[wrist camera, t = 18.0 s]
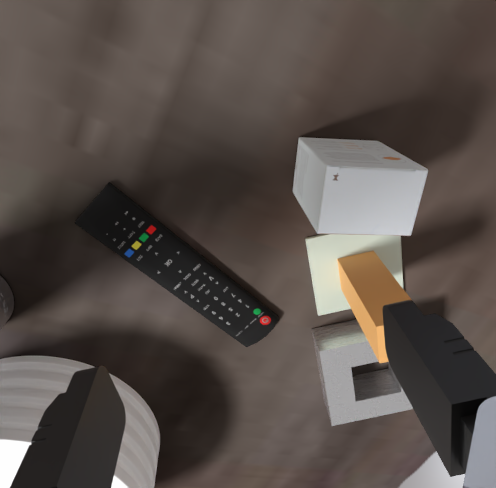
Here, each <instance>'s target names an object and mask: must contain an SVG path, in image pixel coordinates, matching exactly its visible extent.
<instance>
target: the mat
mask: <svg viewBox="0 0 496 488" xmlns="http://www.w3.org/2000/svg"><path fill="white" fill-rule="evenodd" d="M305 240H306V246H307V252H308V258H309V264H310V270H311V276H312V283H313V289H314V295H315V301H316V307H317V313H318V316H319V315H324V314H329V313H333V312H338V311H342V310H347V309H351V307H350V305H349V303H348V301H347V300H346V298H345V296H344V294H343V292H342V290H341V284H340V276H339V269H338V261H337V259H338V258H343V257H347V256H352V255H356V254H361V253H365V252H370V251H374V252H375V253H376V254H377V256H378V257H379V258H380V260H381V261H382V262H383V264H384V265H385V266H386V267H387V269H388V270H389V271H390V273H391V274H392V275H393V277H394V278H395V279H396V280H397V282H398V283H399V284H400V286H401V287H402V288H403V273H402V253H401V236H394V235H348V234H321V235H316V236H312V237H307V238H305Z"/></svg>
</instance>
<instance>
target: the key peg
mask: <svg viewBox="0 0 496 488" xmlns="http://www.w3.org/2000/svg"><path fill="white" fill-rule="evenodd" d="M337 261H338V269H339V276H340V284H341V290H342V292H343V294H344V296H345V298H346V300H347V301H348V303H349V305H350V307H351V309H352V311H353V313H354V315H355V317H356V319H357V321H358V323H359V325H360V327H361V328H362V330H363V332H364V334H365V336H366V338H367V340H368V342H369V344H370V346H371V348H372V350H373V352H374V354H375V355H376V357H377V359H378V361H379V363H384V362H388V358H387V354H386V349H385V337H384V324H383V306H384V305H388V304H392V303H397V302H401V301H406V300H411V299H410V297H409V296H408V295H407V293H406V292H405V291H404V289H403V288H402V287H401V286H400V284H399V283H398V282H397V280H396V279H395V278H394V277H393V275H392V274H391V273H390V271H389V270H388V269H387V267H386V266H385V265H384V264H383V262H382V261H381V260H380V258H379V257H378V256H377V254H376V253H375V252H374V251H370V252H365V253H361V254H356V255H352V256H347V257H343V258H338V259H337Z"/></svg>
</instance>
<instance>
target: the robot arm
mask: <svg viewBox="0 0 496 488" xmlns="http://www.w3.org/2000/svg"><path fill="white" fill-rule="evenodd" d="M13 309H14V298H13V294H12V291H11V289H10V287H9V285H8V284H7V282H6V281H5V280H4V279H3V278H2V277H1V276H0V330H1V329H2V327H3V326H4V325H5V323H6V322H7V321H8V319H9V318H10V317H11V314H12V312H13ZM383 324H384V337H385V349H386V354H387V358H388V361H389V364H390V366H391V368H392V370H393V372H394V374H395V376H396V378H397V380H398V382H399V383H400V385H401V387H402V389H403V391H404V392H405V394H406V396H407V398H408V400H409V402H410V403H411V405H412V407H413V409H414V411H415V413H416V414H417V416H418V418H419V420H420V422H421V424H422V425H423V427H424V429H425V431H426V433H427V435H428V436H429V438H430V440H431V442H432V444H433V446H434V447H435V449H436V451H437V453H438V455H439V456H440V458H441V460H442V462H443V464H444V466H445V468H446V469H447V471H448V473H449V475H450V476H456V475H461V474H465V479H464V484H463V488H496V374H495V373H494V372H493V370H492V369H491V368H490V367H489V366H488V365H487V363H486V362H485V361H484V360H483V359H482V358H481V356H480V355H479V354H478V353H477V352H476V351H474V349H473V347H472V346H471V345H470V343H469V342H468V341H467V340H465V339H464V336H463V335H462V334H461V333H460V332H459V331H458V329H457V328H456V327H455V326H454V325H453V323H451V322H449V321H447V320H446V319H444V318H442V317H440V316H439V315H437V314H430V315H426V316H424V315H423V314H422V313H421V311H420V310H419V309H418V307H417V306H416V305H415V303H414V302H413V301H412V300H406V301H401V302H397V303H392V304H388V305H384V306H383ZM125 424H126V414H125V408H124V404H123V402H122V400H121V398H120V395H119V393H118V391H117V389H116V387H115V385H114V383H113V381H112V379H111V377H110V375H109V372H108V371H107V369H106V368H105V367H104V366H98V367H94V368H89V369H85V370H80V371H76V372H75V373H74V374H73V376H72V379H71V381H70V383H69V386H68V388H67V390H66V392H65V393H61V394H59V395H58V396H57V397H56V398H55V399H54V400H53V402H52V403H51V404H50V405H49V406H48V407H47V409H46V410H45V412H44V414H43V416H42V418H41V420H40V423H39V425H38V427H37V428H38V430H37V431H35V434H34V436H33V438H32V440H31V445H29V447H28V449H27V451H26V453H25V456H24V458H23V460H22V462H21V464H20V467H19V469H18V471H17V473H16V475H15V477H14V480H13V482H12V484H11V486H10V488H111V486H112V482H113V477H114V473H115V469H116V464H117V460H118V455H119V451H120V447H121V442H122V438H123V434H124V429H125Z"/></svg>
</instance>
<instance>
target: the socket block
mask: <svg viewBox="0 0 496 488" xmlns="http://www.w3.org/2000/svg"><path fill="white" fill-rule="evenodd" d="M312 334H313V340H314V346H315V351H316V357H317V363H318V368H319V374H320V380H321V385H322V391H323V397H324V402H325V405H326V408H327V411H328V415H329V418H330V421H331V424H332V426H334V425H339V424H344V423H349V422H353V421H358V420H363V419H367V418H372V417H377V416H382V415H386V414H391V413H396V412H401V411H405V410H410V409H413V407H412V405H411V403H410V402H409V400H408V398H407V396H406V394H405V392H404V391H403V389H402V387H401V385H400V383H399V382H398V380H397V378H396V376H395V374H394V372H393V370H392V368H391V366H390V364H389V361H388V369H383V370H378V371H374V372H369V373H364V374H360V375H355V376H352V370H351V367H355V366H360V365H364V364H369V363H374V362H378V359H377V357H376V355H375V354H374V352H373V350H372V348H371V346H370V344H369V342H368V340H367V338H366V336H365V334H364V332H363V330H362V328H361V327H360V325H359V323H358V321H357V319H355V320H351V321H346V322H342V323H337V324H332V325H328V326H323V327H319V328H314V329H312Z"/></svg>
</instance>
